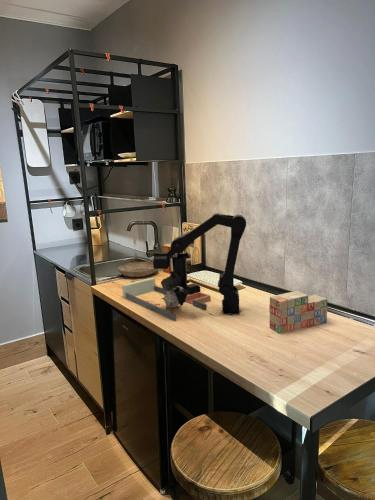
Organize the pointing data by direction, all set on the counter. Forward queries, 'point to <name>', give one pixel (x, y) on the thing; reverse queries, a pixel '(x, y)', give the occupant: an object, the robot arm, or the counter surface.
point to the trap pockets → (198, 298)
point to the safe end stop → (139, 287)
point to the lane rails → (158, 309)
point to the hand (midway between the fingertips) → (181, 305)
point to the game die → (171, 299)
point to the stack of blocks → (296, 311)
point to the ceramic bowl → (137, 269)
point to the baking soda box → (165, 250)
